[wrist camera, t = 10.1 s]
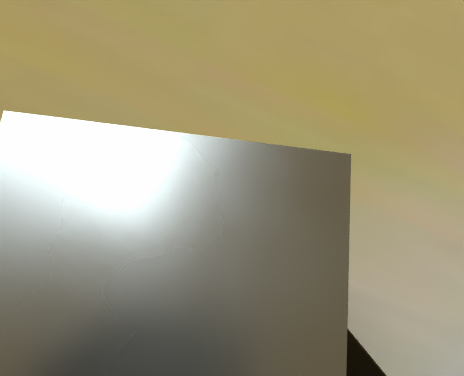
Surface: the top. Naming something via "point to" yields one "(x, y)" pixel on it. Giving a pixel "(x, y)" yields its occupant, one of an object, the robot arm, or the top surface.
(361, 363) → the robot arm
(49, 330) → the grey tin
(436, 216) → the top surface
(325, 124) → the top surface
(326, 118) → the top surface
